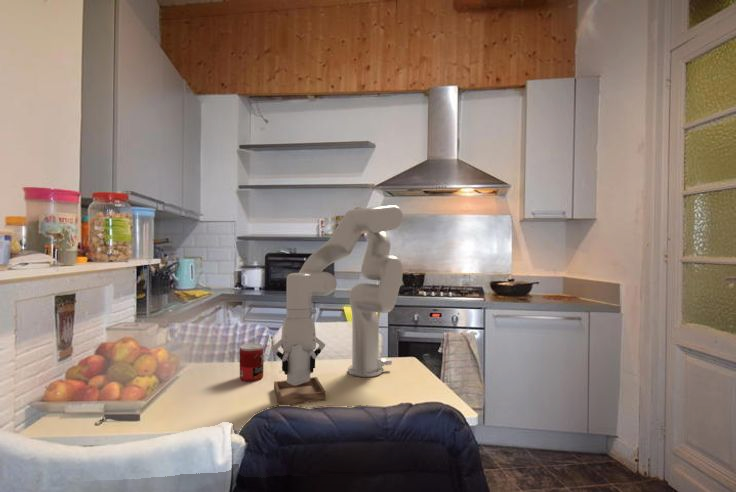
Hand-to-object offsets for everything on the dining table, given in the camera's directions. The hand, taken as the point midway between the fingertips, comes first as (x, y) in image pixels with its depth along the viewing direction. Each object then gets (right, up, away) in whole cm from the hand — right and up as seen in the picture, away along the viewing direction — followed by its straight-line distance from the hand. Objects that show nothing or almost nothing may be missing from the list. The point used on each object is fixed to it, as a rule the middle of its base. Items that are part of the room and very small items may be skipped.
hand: (298, 371), depth 121 cm
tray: (0, -7, 0) cm, 7 cm away
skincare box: (0, -3, 0) cm, 3 cm away
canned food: (-19, -7, +15) cm, 25 cm away
